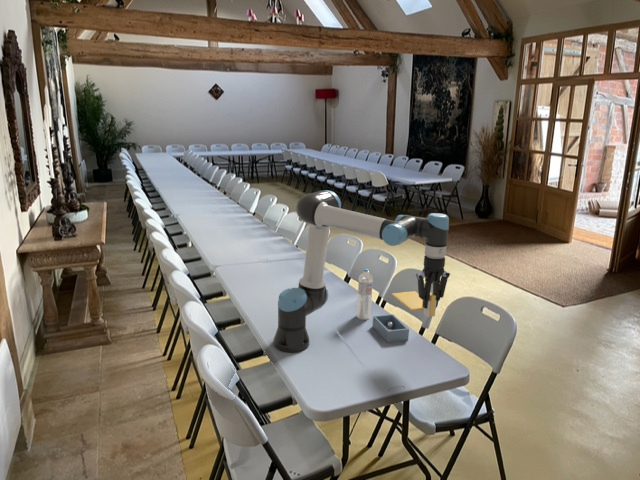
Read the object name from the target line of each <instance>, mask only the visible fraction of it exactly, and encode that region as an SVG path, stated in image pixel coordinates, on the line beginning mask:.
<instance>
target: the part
mask: <svg viewBox="0 0 640 480" xmlns="http://www.w3.org/2000/svg"><path fill="white" fill-rule="evenodd" d="M393 324H394V322H391V321H388V322H387V329H391V330H393Z"/></svg>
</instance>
